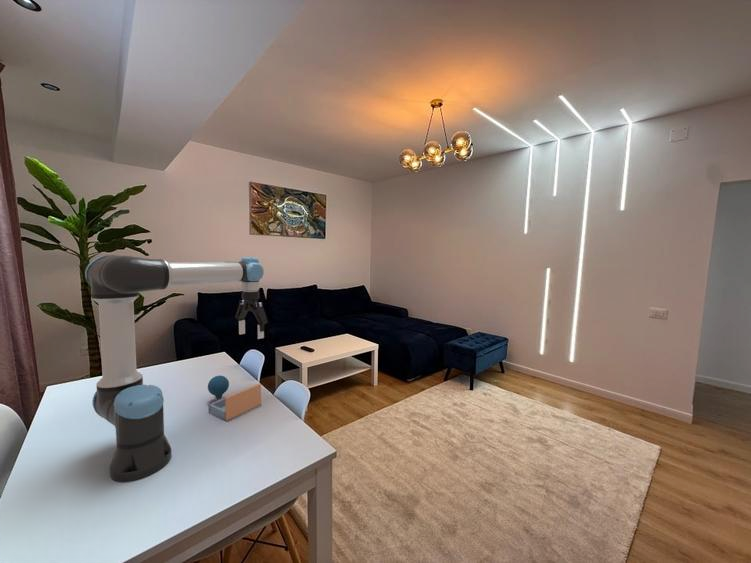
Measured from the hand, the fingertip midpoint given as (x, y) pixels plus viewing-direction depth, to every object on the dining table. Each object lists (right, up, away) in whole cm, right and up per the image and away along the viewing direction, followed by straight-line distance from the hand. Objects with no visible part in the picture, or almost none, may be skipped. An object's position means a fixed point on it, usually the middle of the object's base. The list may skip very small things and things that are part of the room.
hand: (251, 336), depth 140 cm
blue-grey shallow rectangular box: (-2, -29, -12) cm, 32 cm away
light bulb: (-12, -29, -6) cm, 32 cm away
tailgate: (+4, -29, -16) cm, 33 cm away
